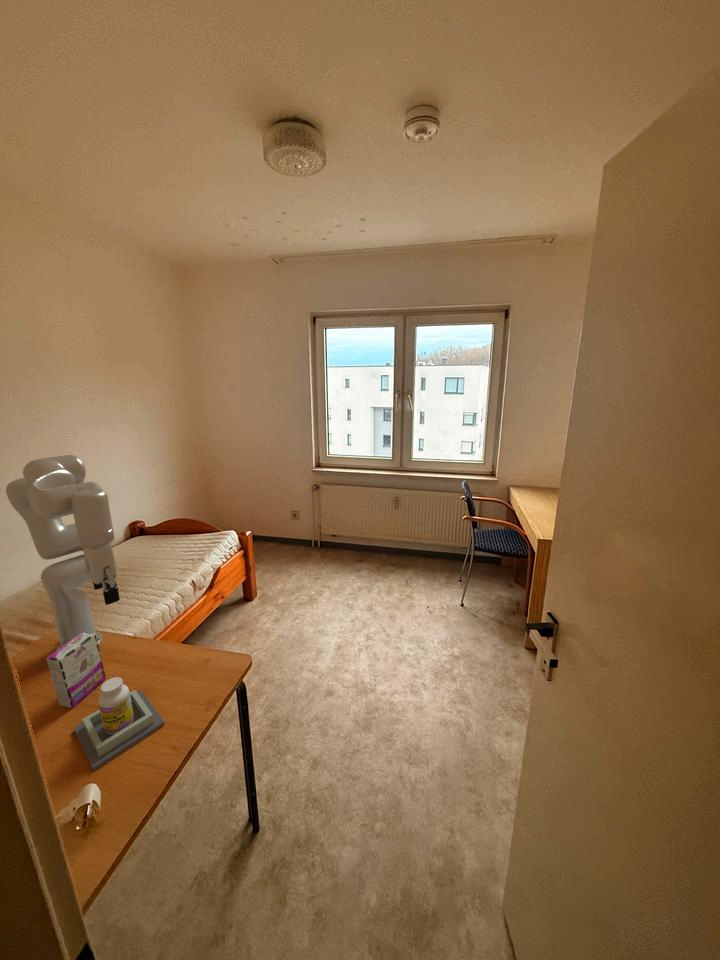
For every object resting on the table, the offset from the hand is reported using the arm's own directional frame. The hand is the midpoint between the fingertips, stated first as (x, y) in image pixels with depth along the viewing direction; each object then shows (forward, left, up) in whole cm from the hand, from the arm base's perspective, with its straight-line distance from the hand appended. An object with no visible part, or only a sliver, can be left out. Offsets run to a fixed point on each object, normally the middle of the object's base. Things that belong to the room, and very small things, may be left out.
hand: (106, 594), depth 100 cm
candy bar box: (-9, -8, -32) cm, 35 cm away
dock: (+12, -5, -32) cm, 35 cm away
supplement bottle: (+12, -5, -31) cm, 34 cm away
